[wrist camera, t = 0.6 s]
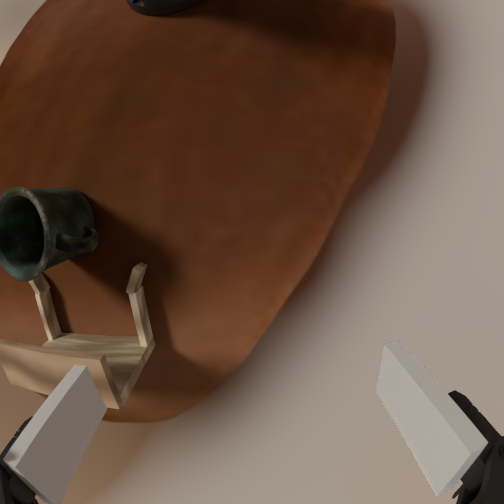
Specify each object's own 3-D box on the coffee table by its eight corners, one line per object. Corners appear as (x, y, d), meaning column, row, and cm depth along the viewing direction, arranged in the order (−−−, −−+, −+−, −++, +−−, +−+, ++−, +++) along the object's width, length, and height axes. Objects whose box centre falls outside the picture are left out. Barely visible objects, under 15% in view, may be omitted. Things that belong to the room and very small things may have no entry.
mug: (48, 180, 33) (-6, 181, 21) (125, 195, 34) (77, 199, 22) (41, 248, 35) (-9, 267, 23) (114, 272, 36) (69, 303, 24)
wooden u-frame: (36, 269, 35) (-26, 299, 20) (146, 261, 36) (93, 304, 21) (55, 339, 38) (7, 384, 23) (162, 345, 38) (130, 413, 23)
